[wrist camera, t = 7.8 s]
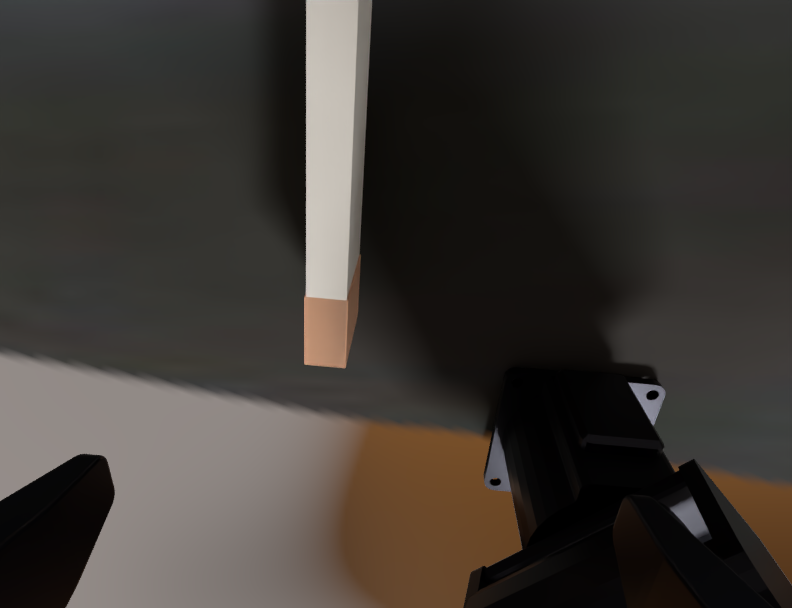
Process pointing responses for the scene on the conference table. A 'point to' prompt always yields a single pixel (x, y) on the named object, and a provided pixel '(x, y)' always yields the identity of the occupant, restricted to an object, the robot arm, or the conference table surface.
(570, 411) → the robot arm
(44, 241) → the conference table surface
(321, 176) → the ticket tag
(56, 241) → the conference table surface
